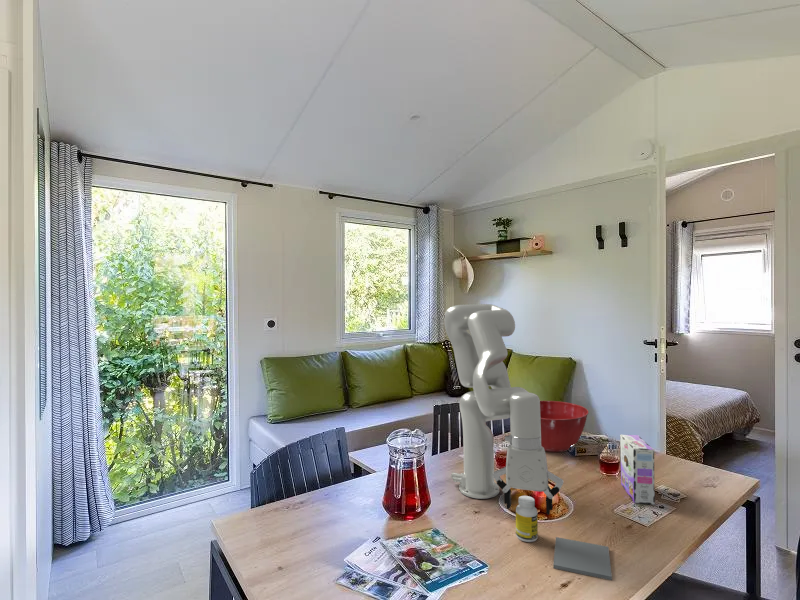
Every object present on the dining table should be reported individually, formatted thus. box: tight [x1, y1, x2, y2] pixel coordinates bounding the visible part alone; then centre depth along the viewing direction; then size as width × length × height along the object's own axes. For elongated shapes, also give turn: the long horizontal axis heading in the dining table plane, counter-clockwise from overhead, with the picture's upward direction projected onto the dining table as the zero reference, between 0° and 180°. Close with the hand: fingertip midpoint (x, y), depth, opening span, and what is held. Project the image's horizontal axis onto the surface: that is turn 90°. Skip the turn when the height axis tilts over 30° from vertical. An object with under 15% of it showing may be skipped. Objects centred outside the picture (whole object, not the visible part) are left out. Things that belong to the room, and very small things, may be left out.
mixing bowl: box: [540, 400, 589, 453], centre depth 176 cm, size 28×28×15 cm
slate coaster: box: [552, 536, 613, 581], centre depth 102 cm, size 12×12×1 cm
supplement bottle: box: [515, 495, 539, 543], centre depth 112 cm, size 5×5×10 cm
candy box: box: [619, 434, 656, 506], centre depth 134 cm, size 14×6×16 cm, turn 168°
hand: (528, 509), depth 111 cm, fingers open, 9 cm apart
